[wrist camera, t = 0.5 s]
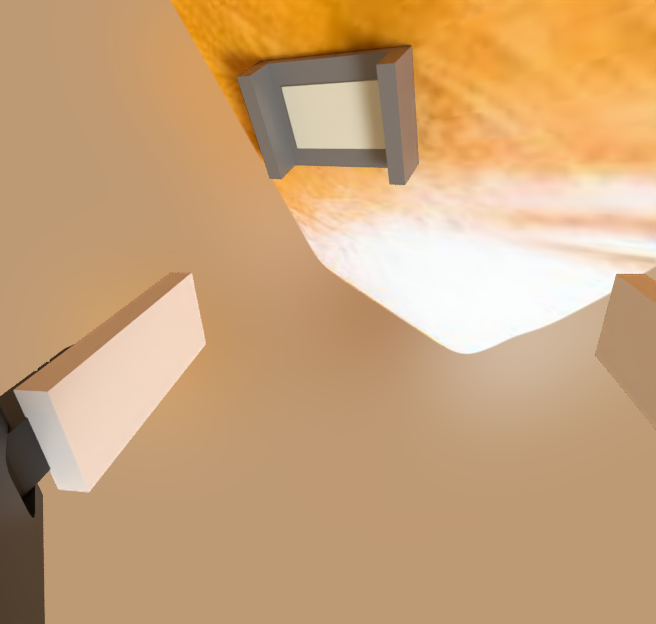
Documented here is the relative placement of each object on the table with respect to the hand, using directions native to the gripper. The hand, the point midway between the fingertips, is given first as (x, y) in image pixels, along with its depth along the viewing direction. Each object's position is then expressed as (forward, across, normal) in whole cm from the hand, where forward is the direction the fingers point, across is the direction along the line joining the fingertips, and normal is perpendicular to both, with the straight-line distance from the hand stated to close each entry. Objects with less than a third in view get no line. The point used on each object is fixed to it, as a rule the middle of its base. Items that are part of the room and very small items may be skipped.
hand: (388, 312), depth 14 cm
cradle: (+32, -5, +6) cm, 33 cm away
